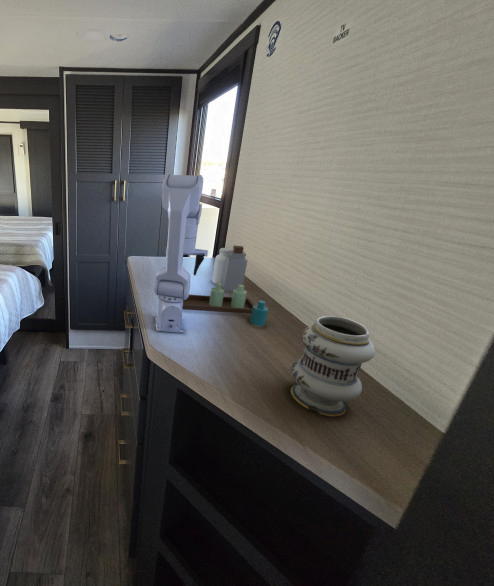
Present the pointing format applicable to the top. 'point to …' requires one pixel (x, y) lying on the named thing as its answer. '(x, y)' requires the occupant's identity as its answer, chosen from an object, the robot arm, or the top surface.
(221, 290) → the green bottle middle
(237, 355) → the top surface
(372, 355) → the apothecary jar
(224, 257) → the pill bottle
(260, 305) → the teal bottle
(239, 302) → the green bottle far
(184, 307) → the tray
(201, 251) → the robot arm
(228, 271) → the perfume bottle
